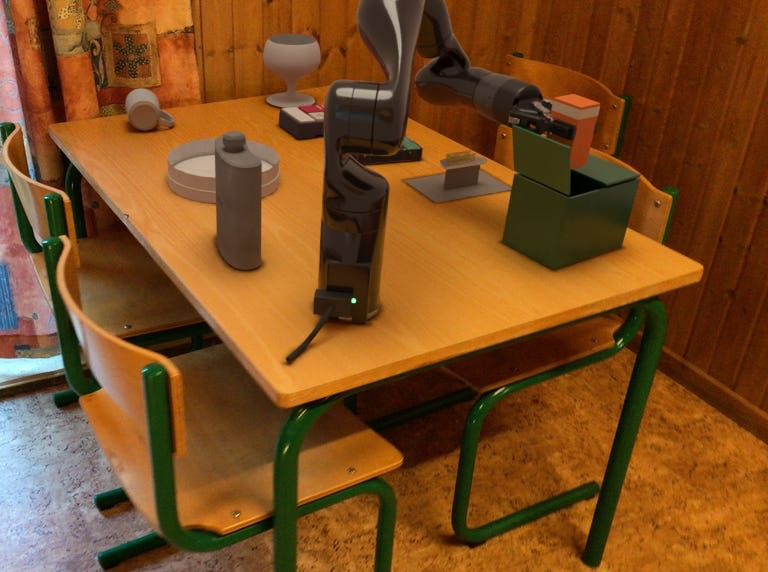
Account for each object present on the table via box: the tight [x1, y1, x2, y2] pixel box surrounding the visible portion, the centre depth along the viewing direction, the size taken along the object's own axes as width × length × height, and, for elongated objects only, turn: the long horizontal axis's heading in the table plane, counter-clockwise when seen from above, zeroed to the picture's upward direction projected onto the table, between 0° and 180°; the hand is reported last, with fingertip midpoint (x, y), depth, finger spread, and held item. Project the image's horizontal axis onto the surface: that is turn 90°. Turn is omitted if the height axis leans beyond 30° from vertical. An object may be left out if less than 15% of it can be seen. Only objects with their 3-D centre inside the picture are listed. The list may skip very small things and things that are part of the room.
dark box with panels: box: [278, 104, 325, 140], centre depth 193 cm, size 11×4×15 cm
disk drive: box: [350, 133, 424, 165], centre depth 180 cm, size 10×3×15 cm
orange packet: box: [545, 93, 601, 169], centre depth 133 cm, size 4×6×10 cm
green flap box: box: [501, 153, 642, 271], centre depth 142 cm, size 17×12×13 cm
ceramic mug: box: [124, 87, 175, 132], centre depth 190 cm, size 11×8×8 cm
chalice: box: [262, 33, 322, 108], centre depth 206 cm, size 14×14×15 cm
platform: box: [403, 149, 512, 204], centre depth 166 cm, size 12×18×7 cm, turn 114°
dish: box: [166, 137, 281, 204], centre depth 165 cm, size 22×22×5 cm
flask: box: [215, 130, 263, 271], centre depth 136 cm, size 15×6×20 cm, turn 15°
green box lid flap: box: [511, 125, 570, 195], centre depth 132 cm, size 8×12×1 cm
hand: (585, 130), depth 130 cm, fingers closed on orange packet, 4 cm apart
